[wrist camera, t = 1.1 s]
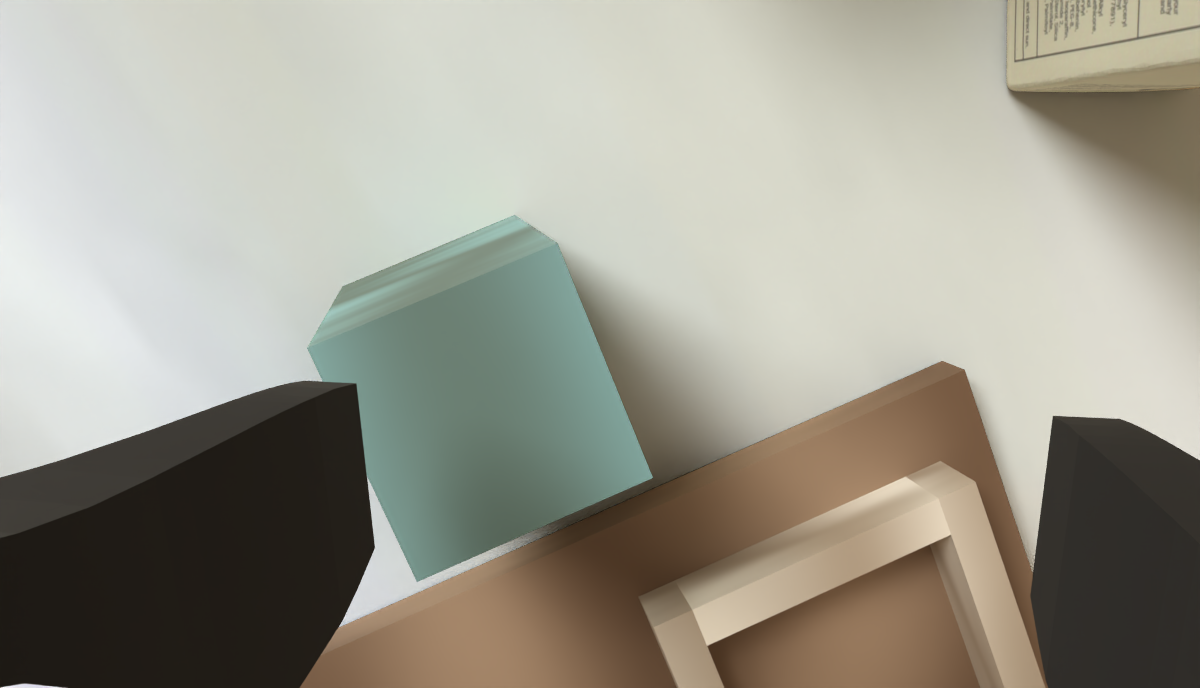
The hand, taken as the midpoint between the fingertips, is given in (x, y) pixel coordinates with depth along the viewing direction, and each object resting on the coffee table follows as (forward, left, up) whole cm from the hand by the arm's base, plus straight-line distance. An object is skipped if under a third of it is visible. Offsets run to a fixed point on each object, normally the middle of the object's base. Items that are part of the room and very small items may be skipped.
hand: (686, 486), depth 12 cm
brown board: (-2, -9, -11) cm, 14 cm away
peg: (-2, +1, -11) cm, 11 cm away
